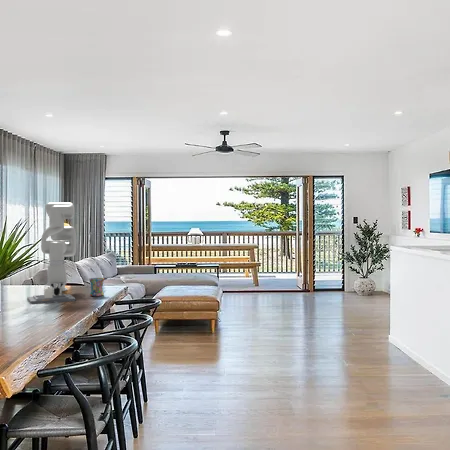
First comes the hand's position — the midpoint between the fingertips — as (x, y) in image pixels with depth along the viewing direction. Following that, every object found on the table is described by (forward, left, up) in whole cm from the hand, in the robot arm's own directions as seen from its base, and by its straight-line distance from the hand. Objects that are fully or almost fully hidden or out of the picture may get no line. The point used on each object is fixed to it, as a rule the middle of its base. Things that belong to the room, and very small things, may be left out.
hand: (56, 295), depth 297 cm
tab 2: (-8, +2, -2) cm, 8 cm away
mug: (-8, +24, -4) cm, 26 cm away
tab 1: (0, -5, -2) cm, 5 cm away
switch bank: (-4, -3, -3) cm, 6 cm away
